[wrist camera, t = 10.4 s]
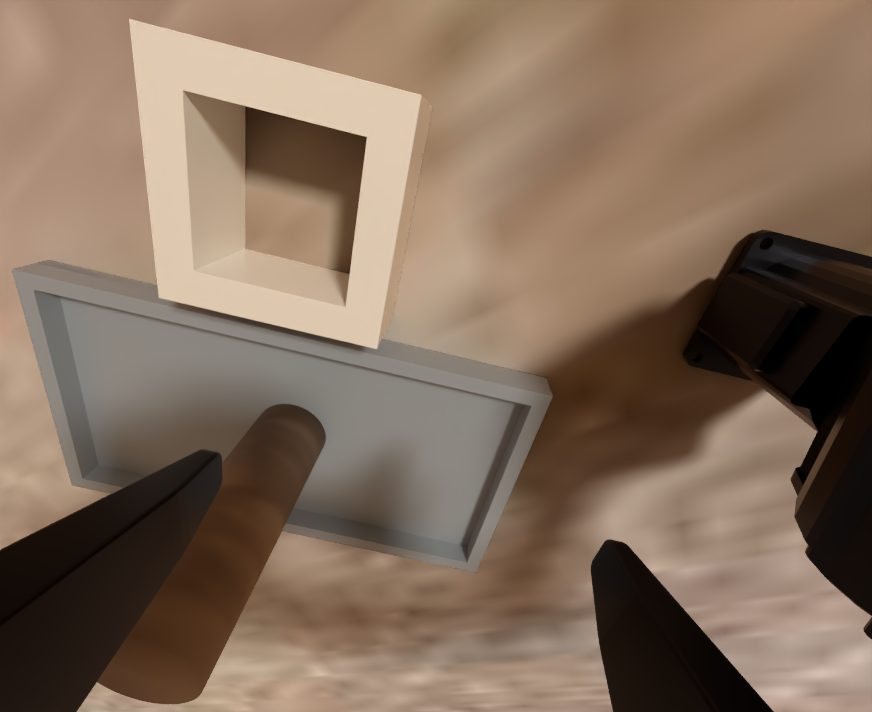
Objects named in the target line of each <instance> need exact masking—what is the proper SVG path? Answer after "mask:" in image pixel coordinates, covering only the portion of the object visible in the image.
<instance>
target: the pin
mask: <svg viewBox="0 0 872 712" xmlns="http://www.w3.org/2000/svg"><path fill="white" fill-rule="evenodd" d="M325 441H326V434H325V430H324V428H323V426H322V424H321V422H320V421H319V420H318V419H317V418H316V417H315V416H314V415H313V414H312V413H311V412H309V411H308V410H306V409H304V408H302V407H299V406H296V405H292V404H277V405H273V406H271V407H269V408H267V409H266V410H264V411H263V412H262V414H261V415H260V416H259V417H258V419H257V420H256V421H255V422H254V424H253V425H252V426H251V427H250V429H249V430H248V431H247V432H246V434H245V435H244V436H243V437H242V439H241V440H240V441H239V442H238V444H237V445H236V446H235V448H234V449H233V450H232V451H231V453H230V454H229V455H228V456H227V458H226V459H225V460H224V461H223V463H222V473H223V480H222V484H221V487H220V489H219V491H218V493H217V495H216V497H215V498H214V500H213V502H212V504H211V506H210V508H209V509H208V511H207V513H206V515H205V517H204V519H203V520H202V522H201V524H200V526H199V528H198V530H197V531H196V533H195V535H194V537H193V539H192V541H191V542H190V544H189V546H188V548H187V549H186V551H185V553H184V555H183V556H182V558H181V559H180V561H179V562H178V564H177V565H176V567H175V568H174V570H173V571H172V573H171V574H170V576H169V577H168V578H167V580H166V581H165V583H164V584H163V586H162V587H161V589H160V590H159V592H158V593H157V595H156V596H155V598H154V599H153V600H152V602H151V603H150V605H149V606H148V608H147V609H146V611H145V612H144V614H143V615H142V617H141V618H140V619H139V621H138V622H137V624H136V625H135V627H134V628H133V630H132V631H131V633H130V634H129V636H128V637H127V639H126V640H125V641H124V643H123V644H122V646H121V647H120V649H119V650H118V652H117V653H116V655H115V656H114V658H113V659H112V660H111V662H110V663H109V665H108V666H107V668H106V669H105V671H104V672H103V674H102V675H101V677H100V678H99V680H98V681H97V682H98V683H100V684H101V685H103V686H105V687H107V688H108V689H111V690H113V691H115V692H117V693H120V694H122V695H125V696H128V697H131V698H134V699H138V700H142V701H146V702H152V703H159V704H180V703H185V702H189V701H192V700H194V699H196V698H197V697H198V696H199V695H200V694H201V693H202V691H203V689H204V687H205V685H206V683H207V681H208V679H209V677H210V675H211V673H212V671H213V669H214V667H215V665H216V663H217V661H218V659H219V657H220V655H221V653H222V651H223V649H224V647H225V645H226V643H227V641H228V639H229V637H230V635H231V633H232V631H233V629H234V627H235V624H236V622H237V620H238V618H239V616H240V614H241V612H242V610H243V608H244V606H245V604H246V602H247V600H248V598H249V596H250V594H251V592H252V590H253V588H254V586H255V584H256V582H257V580H258V578H259V576H260V574H261V572H262V570H263V568H264V566H265V564H266V562H267V560H268V558H269V556H270V554H271V552H272V550H273V548H274V546H275V544H276V542H277V540H278V538H279V536H280V534H281V532H282V530H283V528H284V526H285V524H286V522H287V520H288V518H289V516H290V514H291V512H292V510H293V508H294V506H295V504H296V502H297V500H298V498H299V496H300V493H301V491H302V489H303V487H304V485H305V483H306V481H307V479H308V477H309V475H310V473H311V471H312V469H313V467H314V465H315V463H316V461H317V459H318V457H319V455H320V453H321V451H322V449H323V447H324V445H325Z"/></svg>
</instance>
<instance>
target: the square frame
mask: <svg viewBox="0 0 872 712" xmlns="http://www.w3.org/2000/svg"><path fill="white" fill-rule="evenodd" d="M129 22H130V31H131V41H132V50H133V60H134V69H135V78H136V88H137V97H138V107H139V116H140V126H141V135H142V144H143V154H144V163H145V173H146V182H147V191H148V201H149V210H150V220H151V229H152V238H153V248H154V257H155V267H156V276H157V286H158V295H159V298H162V299H166V300H171V301H175V302H179V303H183V304H188V305H192V306H196V307H200V308H204V309H209V310H213V311H217V312H221V313H226V314H230V315H234V316H238V317H243V318H247V319H251V320H255V321H260V322H264V323H268V324H272V325H277V326H281V327H285V328H289V329H293V330H298V331H302V332H306V333H310V334H315V335H319V336H323V337H327V338H332V339H336V340H340V341H344V342H349V343H353V344H357V345H361V346H366V347H370V348H374V349H377V348H378V346H379V344H380V342H381V340H382V338H383V335H384V333H385V331H386V329H387V327H388V325H389V323H390V321H391V318H392V316H393V314H394V309H395V304H396V298H397V293H398V288H399V282H400V277H401V272H402V266H403V261H404V256H405V251H406V245H407V240H408V235H409V229H410V224H411V219H412V213H413V208H414V203H415V198H416V192H417V187H418V182H419V176H420V171H421V166H422V160H423V155H424V150H425V144H426V139H427V134H428V129H429V123H430V118H431V113H432V107H431V106H430V105H429V103H428V102H427V101H426V100H425V99H424V97H423V96H422V95H420V94H416V93H412V92H408V91H404V90H400V89H397V88H393V87H389V86H385V85H381V84H377V83H374V82H370V81H366V80H362V79H358V78H354V77H350V76H347V75H343V74H339V73H335V72H331V71H327V70H324V69H320V68H316V67H312V66H308V65H304V64H300V63H297V62H293V61H289V60H285V59H281V58H277V57H274V56H270V55H266V54H262V53H258V52H254V51H250V50H247V49H243V48H239V47H235V46H231V45H227V44H224V43H220V42H216V41H212V40H208V39H204V38H200V37H197V36H193V35H189V34H185V33H181V32H177V31H174V30H170V29H166V28H162V27H158V26H154V25H150V24H147V23H143V22H139V21H135V20H131V19H129ZM245 106H247V107H251V108H255V109H259V110H263V111H267V112H271V113H274V114H278V115H282V116H286V117H290V118H294V119H298V120H302V121H306V122H310V123H314V124H318V125H322V126H325V127H329V128H333V129H337V130H341V131H345V132H349V133H353V134H357V135H361V136H365V137H367V141H366V149H365V157H364V165H363V173H362V180H361V188H360V196H359V204H358V212H357V220H356V228H355V236H354V244H353V252H352V259H351V267H350V274H347V273H343V272H339V271H335V270H331V269H327V268H322V267H318V266H314V265H310V264H306V263H302V262H298V261H293V260H289V259H285V258H281V257H277V256H273V255H269V254H265V253H260V252H256V251H252V250H248V249H245Z"/></svg>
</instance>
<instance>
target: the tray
mask: <svg viewBox="0 0 872 712" xmlns="http://www.w3.org/2000/svg"><path fill="white" fill-rule="evenodd" d="M12 272H13V276H14V279H15V283H16V287H17V290H18V294H19V297H20V301H21V305H22V308H23V312H24V315H25V319H26V322H27V326H28V330H29V333H30V337H31V340H32V344H33V348H34V351H35V355H36V358H37V362H38V366H39V369H40V373H41V376H42V380H43V383H44V387H45V391H46V394H47V398H48V401H49V405H50V409H51V412H52V416H53V419H54V423H55V427H56V430H57V434H58V437H59V441H60V444H61V448H62V452H63V455H64V459H65V462H66V466H67V470H68V473H69V477H70V480H71V484H72V485H73V486H78V487H83V488H87V489H92V490H96V491H101V492H106V493H110V494H112V493H114V492H116V491H118V490H120V489H122V488H124V487H126V486H128V485H130V484H132V483H134V482H136V481H138V480H140V479H142V478H144V477H146V476H148V475H150V474H152V473H154V472H156V471H158V470H160V469H162V468H164V467H166V466H168V465H170V464H172V463H174V462H176V461H178V460H180V459H182V458H184V457H186V456H188V455H190V454H192V453H194V452H196V451H198V450H200V449H207V450H212V451H216V452H219V453H220V454H221V455H222V463H223V461H224V460H225V459H226V458H227V456H228V455H229V454H230V453H231V451H232V450H233V449H234V448H235V446H236V445H237V444H238V442H239V441H240V440H241V439H242V437H243V436H244V435H245V434H246V432H247V431H248V430H249V429H250V427H251V426H252V425H253V424H254V422H255V421H256V420H257V419H258V417H259V416H260V415H261V414H262V412H263V411H264V410H266V409H267V408H269V407H271V406H273V405H277V404H292V405H296V406H299V407H302V408H304V409H306V410H308V411H309V412H311V413H312V414H313V415H314V416H315V417H316V418H317V419H318V420H319V421H320V422H321V424H322V426H323V428H324V430H325V434H326V441H325V445H324V447H323V449H322V451H321V453H320V455H319V457H318V459H317V461H316V463H315V465H314V467H313V469H312V471H311V473H310V475H309V477H308V479H307V481H306V483H305V485H304V487H303V489H302V491H301V493H300V496H299V498H298V500H297V502H296V504H295V506H294V508H293V510H292V512H291V514H290V516H289V518H288V520H287V522H286V524H285V526H284V528H283V530H282V531H285V532H289V533H294V534H299V535H303V536H308V537H312V538H317V539H322V540H326V541H331V542H335V543H340V544H345V545H349V546H354V547H358V548H363V549H368V550H372V551H377V552H381V553H386V554H391V555H395V556H400V557H404V558H409V559H414V560H418V561H423V562H427V563H432V564H437V565H441V566H446V567H450V568H455V569H460V570H464V571H469V572H473V573H476V572H477V570H478V568H479V565H480V563H481V561H482V558H483V556H484V554H485V551H486V549H487V547H488V545H489V542H490V540H491V538H492V535H493V533H494V531H495V528H496V526H497V524H498V522H499V519H500V517H501V515H502V512H503V510H504V508H505V506H506V503H507V501H508V499H509V496H510V494H511V492H512V489H513V487H514V485H515V483H516V480H517V478H518V476H519V473H520V471H521V469H522V466H523V464H524V462H525V460H526V457H527V455H528V453H529V450H530V448H531V446H532V444H533V441H534V439H535V437H536V434H537V432H538V430H539V427H540V425H541V423H542V421H543V418H544V416H545V414H546V411H547V409H548V407H549V405H550V402H551V400H552V398H553V395H552V392H551V390H550V387H549V384H548V381H547V378H544V377H540V376H536V375H532V374H528V373H523V372H519V371H515V370H511V369H506V368H502V367H498V366H494V365H490V364H485V363H481V362H477V361H473V360H468V359H464V358H460V357H456V356H452V355H447V354H443V353H439V352H435V351H430V350H426V349H422V348H418V347H414V346H409V345H405V344H401V343H397V342H392V341H388V340H384V339H382V340H381V342H380V344H379V346H378V348H377V349H374V348H370V347H366V346H361V345H357V344H353V343H349V342H344V341H340V340H336V339H332V338H327V337H323V336H319V335H315V334H310V333H306V332H302V331H298V330H293V329H289V328H285V327H281V326H277V325H272V324H268V323H264V322H260V321H255V320H251V319H247V318H243V317H238V316H234V315H230V314H226V313H221V312H217V311H213V310H209V309H204V308H200V307H196V306H192V305H188V304H183V303H179V302H175V301H171V300H166V299H162V298H159V295H158V286H156V285H152V284H148V283H143V282H139V281H135V280H131V279H127V278H122V277H118V276H114V275H110V274H105V273H101V272H97V271H93V270H89V269H84V268H80V267H76V266H72V265H67V264H63V263H59V262H55V261H51V260H46V261H42V262H38V263H34V264H30V265H26V266H23V267H19V268H15V269H12Z"/></svg>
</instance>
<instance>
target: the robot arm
mask: <svg viewBox="0 0 872 712" xmlns="http://www.w3.org/2000/svg"><path fill="white" fill-rule="evenodd" d="M765 238H766V239H767V242H766V244H765V245H764V246H763V247H761V248H760V246H759V245H760V242H761V241H762V240H763V239H765ZM696 353H699V355H698V356H697V357H695V358H692V356H693V355H694V354H696ZM683 359H684V360H685V361H686V362H687V363H688V364H689V365H691V366H693V367H698V368H702V369H706V370H710V371H714V372H718V373H722V374H727V375H731V376H735V377H739V378H743V379H747V380H751V381H754V382H756V383H757V384H758V385H759V386H761V387H762V388H763V389H764V390H766V391H767V392H768V393H769V394H771V395H772V396H773V397H774V398H776V399H777V400H778V401H779V402H781V403H782V404H783V405H784V406H786V407H787V408H788V409H789V410H791V411H792V412H793V413H794V414H796V415H797V416H798V417H799V418H801V419H802V420H803V421H804V422H806V423H807V424H808V425H809V426H811V427H812V428H813V429H814V430H816V431H817V434H816V436H815V438H814V440H813V442H812V444H811V446H810V448H809V450H808V452H807V454H806V457H805V459H804V461H803V463H802V465H801V467H797V468H796V469H795V471H794V473H793V475H792V477H791V482H792V484H793V487H794V489H795V491H796V493H797V496H798V497H797V499H796V507H795V516H794V517H795V519H796V521H797V523H798V526H799V528H800V530H801V533H802V535H803V537H804V539H805V541H806V543H807V544H808V546H807V548H806V551H805V553H806V555H807V557H808V558H809V559H810V560H811V561H812V563H813V564H814V565H815V566H816V567H817V568H818V569H819V571H820V572H821V573H822V574H823V575H824V576H825V577H826V578H827V579H828V580H829V581H830V582H831V583H832V584H833V585H834V586H835V587H836V588H837V589H838V590H840V591H841V592H842V593H843V594H844V595H845V596H847V597H848V598H849V599H850V600H851V601H852V602H853V603H855V604H856V605H857V606H858V607H860V608H861V609H862V610H864V611H865V612H867V613H868V614H869V615H871V616H872V257H870V256H866V255H862V254H858V253H854V252H850V251H847V250H843V249H839V248H835V247H831V246H827V245H823V244H819V243H815V242H811V241H807V240H803V239H800V238H796V237H792V236H788V235H784V234H780V233H776V232H772V231H768V230H761V231H758V232H756V233H755V234H753V235H752V236H751V237H750V239H749V240H748V242H747V243H746V245H745V247H744V249H743V250H742V252H741V254H740V255H739V257H738V259H737V261H736V262H735V264H734V266H733V268H732V269H731V271H730V273H729V274H728V275H727V276H726V277H725V278H724V280H723V282H722V284H721V285H720V287H719V289H718V290H717V292H716V294H715V296H714V297H713V299H712V301H711V303H710V304H709V306H708V308H707V309H706V311H705V313H704V315H703V316H702V318H701V320H700V321H699V323H698V328H697V329H696V331H695V333H694V334H693V336H692V338H691V340H690V341H689V343H688V345H687V346H686V348H685V350H684V352H683ZM222 480H223V473H222V455H221V454H220V453H219V452H216V451H212V450H207V449H200V450H198V451H196V452H194V453H192V454H190V455H188V456H186V457H184V458H182V459H180V460H178V461H176V462H174V463H172V464H170V465H168V466H166V467H164V468H162V469H160V470H158V471H156V472H154V473H152V474H150V475H148V476H146V477H144V478H142V479H140V480H138V481H136V482H134V483H132V484H130V485H128V486H126V487H124V488H122V489H120V490H118V491H116V492H114V493H112V494H110V495H108V496H106V497H104V498H102V499H100V500H98V501H96V502H94V503H92V504H90V505H88V506H86V507H84V508H82V509H80V510H78V511H76V512H74V513H72V514H70V515H68V516H66V517H64V518H62V519H60V520H58V521H56V522H54V523H52V524H50V525H48V526H46V527H44V528H42V529H41V530H39V531H37V532H35V533H33V534H31V535H29V536H27V537H25V538H23V539H21V540H19V541H17V542H15V543H13V544H11V545H9V546H7V547H5V548H3V549H1V550H0V712H77V710H78V709H79V707H80V706H81V704H82V703H83V701H84V700H85V699H86V697H87V696H88V694H89V693H90V691H91V690H92V688H93V687H94V685H95V684H96V682H97V681H98V680H99V678H100V677H101V675H102V674H103V672H104V671H105V669H106V668H107V666H108V665H109V663H110V662H111V660H112V659H113V658H114V656H115V655H116V653H117V652H118V650H119V649H120V647H121V646H122V644H123V643H124V641H125V640H126V639H127V637H128V636H129V634H130V633H131V631H132V630H133V628H134V627H135V625H136V624H137V622H138V621H139V619H140V618H141V617H142V615H143V614H144V612H145V611H146V609H147V608H148V606H149V605H150V603H151V602H152V600H153V599H154V598H155V596H156V595H157V593H158V592H159V590H160V589H161V587H162V586H163V584H164V583H165V581H166V580H167V578H168V577H169V576H170V574H171V573H172V571H173V570H174V568H175V567H176V565H177V564H178V562H179V561H180V559H181V558H182V556H183V555H184V553H185V551H186V549H187V548H188V546H189V544H190V542H191V541H192V539H193V537H194V535H195V533H196V531H197V530H198V528H199V526H200V524H201V522H202V520H203V519H204V517H205V515H206V513H207V511H208V509H209V508H210V506H211V504H212V502H213V500H214V498H215V497H216V495H217V493H218V491H219V489H220V487H221V484H222ZM591 576H592V585H593V594H594V604H595V613H596V622H597V631H598V638H599V645H600V650H601V655H602V660H603V665H604V670H605V675H606V679H607V684H608V689H609V694H610V699H611V704H612V708H613V712H773V710H772V709H771V708H770V707H769V706H768V705H767V704H766V703H765V701H764V700H763V699H762V698H761V697H760V696H759V695H758V693H757V692H756V691H755V690H754V689H753V688H752V687H751V685H750V684H749V683H748V682H747V681H746V680H745V679H744V677H743V676H742V675H741V674H740V673H739V672H738V671H737V669H736V668H735V667H734V666H733V665H732V664H731V663H730V661H729V660H728V659H727V658H726V657H725V656H724V655H723V653H722V652H721V651H720V650H719V649H718V648H717V647H716V645H715V644H714V643H713V642H712V641H711V640H710V639H709V637H708V636H707V635H706V634H705V633H704V632H703V631H702V630H701V628H700V627H699V626H698V625H697V624H696V623H695V622H694V620H693V619H692V618H691V617H690V616H689V615H688V614H687V612H686V611H685V610H684V609H683V608H682V607H681V606H680V604H679V603H678V602H677V601H676V600H675V599H674V598H673V596H672V595H671V594H670V593H669V592H668V591H667V590H666V588H665V587H664V586H663V585H662V584H661V583H660V582H659V580H658V579H657V578H656V577H655V576H654V575H653V574H652V572H651V571H650V570H649V569H648V568H647V567H646V566H645V564H644V563H643V562H642V561H641V560H640V559H639V558H638V556H637V555H636V554H635V553H634V552H633V551H632V550H631V549H630V547H629V546H628V545H627V544H625V543H623V542H619V541H615V540H606V541H605V542H604V543H603V545H602V546H601V548H600V550H599V551H598V553H597V554H596V556H595V557H594V559H593V561H592V564H591ZM864 632H865V633H866V635H867V636H868V637H869V638H871V639H872V617H871V619H870V620H869V621H868V623H867V624H866V625H865V627H864Z"/></svg>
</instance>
